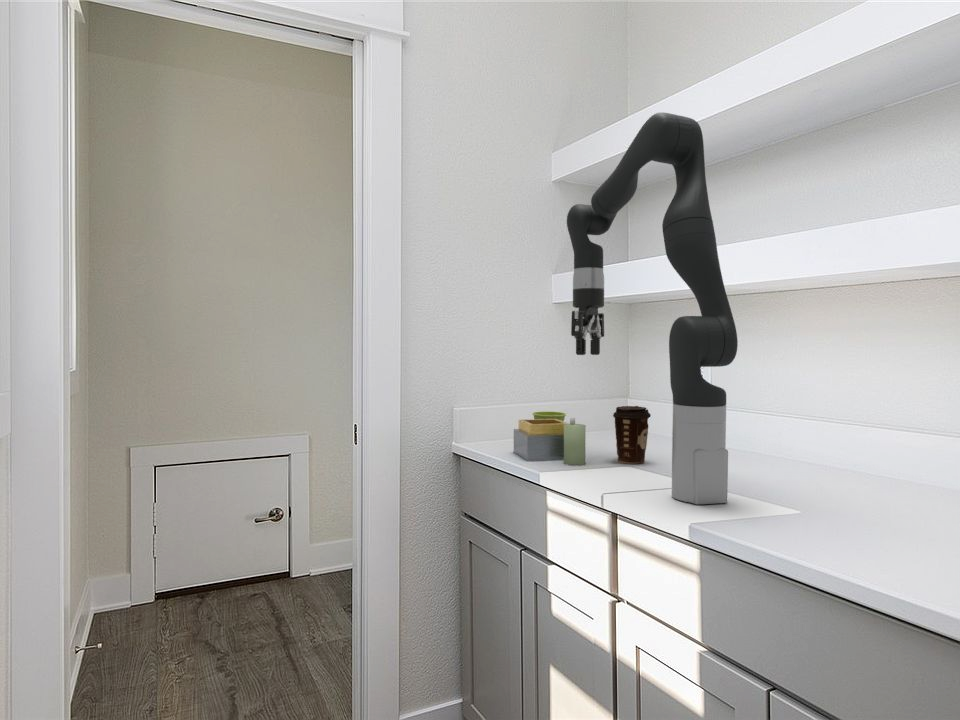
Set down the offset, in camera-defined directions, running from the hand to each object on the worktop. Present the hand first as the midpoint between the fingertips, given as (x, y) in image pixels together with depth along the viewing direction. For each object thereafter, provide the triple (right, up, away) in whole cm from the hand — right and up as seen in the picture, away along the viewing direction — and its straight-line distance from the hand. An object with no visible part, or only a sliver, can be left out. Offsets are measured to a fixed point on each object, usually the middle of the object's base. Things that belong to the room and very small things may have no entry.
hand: (588, 354), depth 155 cm
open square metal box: (-10, -25, +4) cm, 28 cm away
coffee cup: (+10, -26, -3) cm, 28 cm away
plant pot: (-7, -25, +22) cm, 34 cm away
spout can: (-4, -26, -5) cm, 26 cm away
